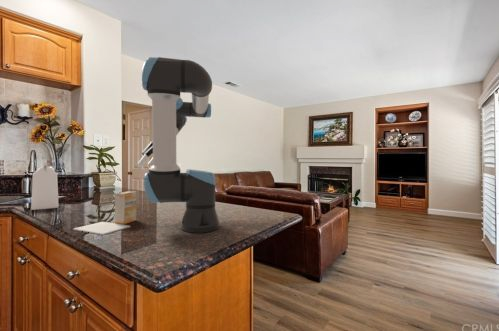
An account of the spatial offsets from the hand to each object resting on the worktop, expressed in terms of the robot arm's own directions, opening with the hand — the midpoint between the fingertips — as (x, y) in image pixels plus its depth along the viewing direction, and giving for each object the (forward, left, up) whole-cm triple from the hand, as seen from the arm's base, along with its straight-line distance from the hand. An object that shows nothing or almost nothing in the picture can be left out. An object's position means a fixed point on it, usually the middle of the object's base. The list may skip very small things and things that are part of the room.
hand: (144, 165), depth 118 cm
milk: (+68, +4, -25) cm, 72 cm away
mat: (0, +21, -24) cm, 32 cm away
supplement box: (0, +10, -25) cm, 27 cm away
